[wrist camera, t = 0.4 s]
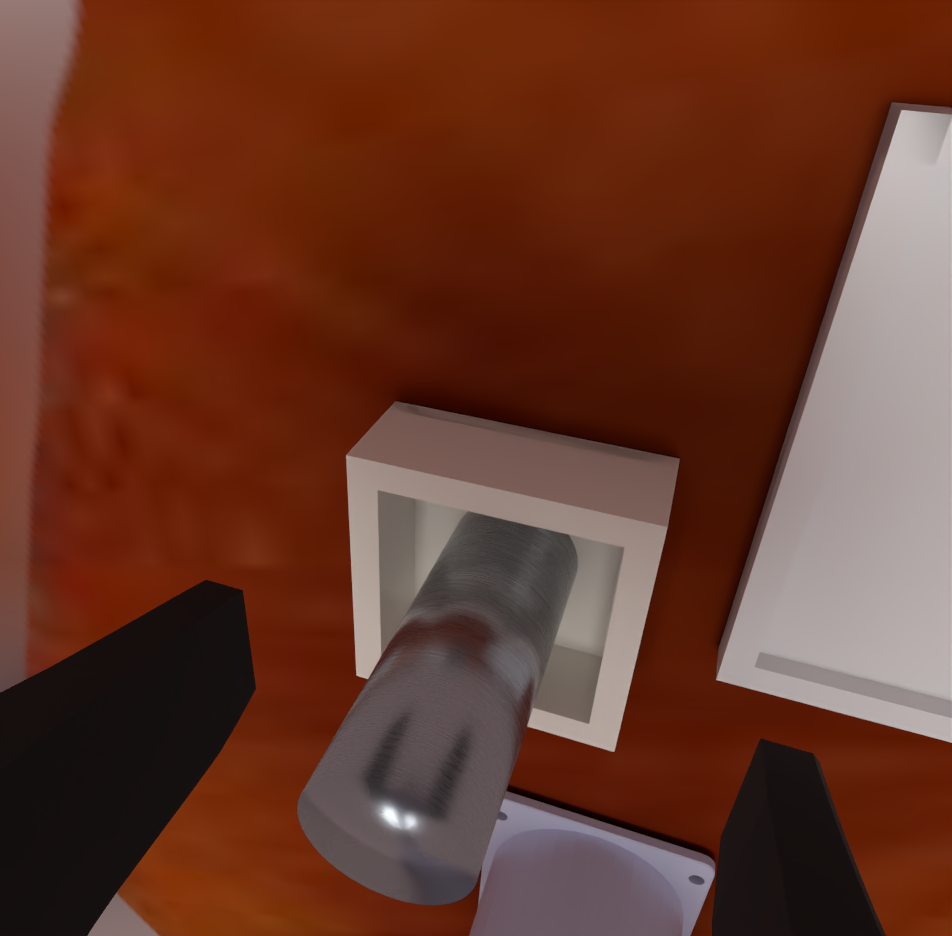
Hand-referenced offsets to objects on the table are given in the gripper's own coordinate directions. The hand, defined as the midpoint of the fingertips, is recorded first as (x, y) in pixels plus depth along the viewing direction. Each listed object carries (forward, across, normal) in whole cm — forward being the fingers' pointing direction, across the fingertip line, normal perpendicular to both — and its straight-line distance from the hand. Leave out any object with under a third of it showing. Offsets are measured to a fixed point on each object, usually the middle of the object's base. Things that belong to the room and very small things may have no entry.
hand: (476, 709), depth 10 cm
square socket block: (+10, +2, +5) cm, 11 cm away
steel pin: (+10, +2, +5) cm, 11 cm away
